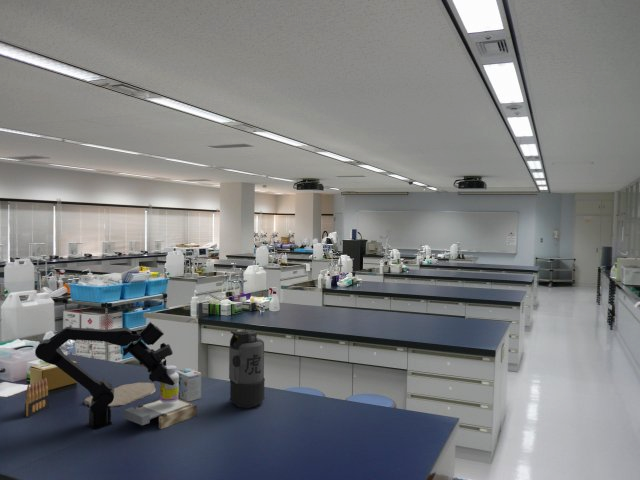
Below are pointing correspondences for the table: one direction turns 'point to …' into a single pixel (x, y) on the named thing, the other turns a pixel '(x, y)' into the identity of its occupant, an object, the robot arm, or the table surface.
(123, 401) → the stone tablet
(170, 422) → the tan framed slab
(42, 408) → the ammunition clip
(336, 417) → the table surface
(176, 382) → the supplement bottle
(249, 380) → the kanji thermos flask
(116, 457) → the table surface
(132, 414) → the trapdoor
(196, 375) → the light bulb box
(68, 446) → the table surface
